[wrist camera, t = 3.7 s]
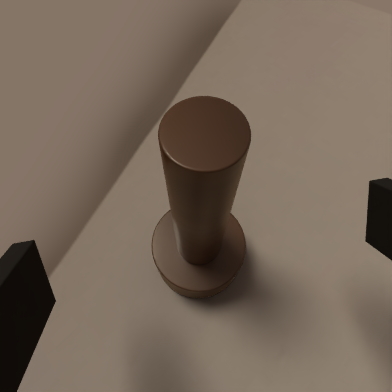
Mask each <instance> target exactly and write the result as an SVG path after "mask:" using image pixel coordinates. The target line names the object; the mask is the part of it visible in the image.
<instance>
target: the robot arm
mask: <svg viewBox="0 0 392 392" xmlns="http://www.w3.org/2000/svg"><path fill="white" fill-rule="evenodd" d="M365 241H366V242H367V243H369V244H370V245H371V246H373V247H374V248H375V249H377V250H378V251H379V252H381V253H382V254H384V255H385V256H386V257H388V258H389V259H390V260H392V179H389V178H383V179H377V180H372V181H369V195H368V210H367V225H366V240H365ZM55 302H56V300H55V297H54V294H53V292H52V289H51V286H50V283H49V280H48V277H47V275H46V272H45V269H44V266H43V263H42V260H41V258H40V255H39V252H38V249H37V246H36V243H35V241H34V240H31V241H26V242H21V243H14V244H12V245H11V246H10V248H9V249H8V250H7V251H6V253H5V254H4V255H3V256H2V257H1V258H0V392H17V390H18V387H19V385H20V383H21V381H22V378H23V376H24V374H25V371H26V369H27V367H28V364H29V362H30V360H31V357H32V355H33V353H34V350H35V348H36V346H37V343H38V341H39V339H40V336H41V334H42V332H43V329H44V327H45V325H46V322H47V320H48V318H49V315H50V313H51V311H52V309H53V306H54V304H55Z"/></svg>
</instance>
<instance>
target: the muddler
mask: <svg viewBox="0 0 392 392" xmlns="http://www.w3.org/2000/svg"><path fill="white" fill-rule="evenodd" d="M158 139H159V145H160V151H161V157H162V162H163V168H164V174H165V180H166V185H167V191H168V197H169V203H170V209H171V210H169V211H168V212H167V213H166V214H165V215H164V216H163V217H162V218H161V220H160V221H159V223H158V224H157V226H156V228H155V231H154V234H153V238H152V254H153V259H154V261H155V264H156V266H157V268H158V270H159V272H160V274H161V276H162V278H163V280H164V281H165V282H166V284H167V285H168V286H169V287H170V288H171V289H173V290H174V291H176V292H177V293H179V294H181V295H183V296H186V297H190V298H206V297H210V296H213V295H215V294H218V293H219V292H221V291H223V290H224V289H225V288H226V287H227V286H228V285H229V284H230V283H231V282H232V280H233V279H234V277H235V276H236V274H237V272H238V271H239V269H240V267H241V265H242V263H243V260H244V256H245V250H246V243H245V237H244V233H243V230H242V228H241V226H240V224H239V222H238V221H237V219H236V218H235V217H234V216H233V215H232V214H231V213H230V212H231V209H232V205H233V202H234V198H235V195H236V191H237V188H238V184H239V181H240V177H241V174H242V170H243V167H244V163H245V160H246V156H247V153H248V149H249V146H250V142H251V130H250V126H249V123H248V121H247V119H246V117H245V116H244V114H243V113H242V112H241V111H240V110H239V109H238V108H237V107H236V106H234V105H233V104H231V103H230V102H228V101H226V100H223V99H220V98H216V97H211V96H197V97H191V98H188V99H185V100H183V101H180V102H179V103H177V104H175V105H174V106H173V107H171V108H170V109H169V110H168V111H167V112H166V114H165V115H164V117H163V118H162V120H161V123H160V125H159V130H158Z"/></svg>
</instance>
